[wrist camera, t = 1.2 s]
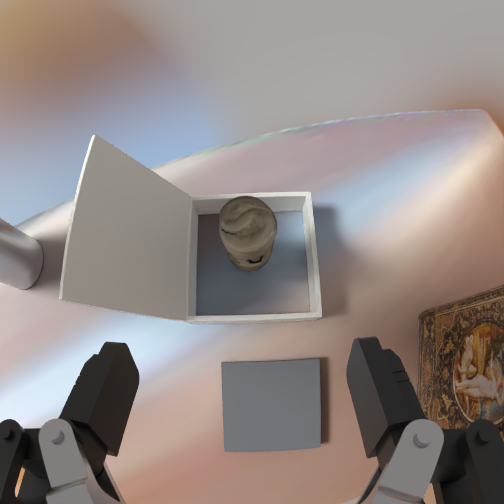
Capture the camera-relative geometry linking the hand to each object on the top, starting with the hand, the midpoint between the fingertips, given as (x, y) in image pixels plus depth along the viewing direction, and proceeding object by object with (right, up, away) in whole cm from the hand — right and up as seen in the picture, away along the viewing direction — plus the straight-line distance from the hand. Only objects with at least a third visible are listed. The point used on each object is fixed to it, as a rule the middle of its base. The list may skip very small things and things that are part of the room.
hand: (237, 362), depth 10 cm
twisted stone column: (0, +2, +31) cm, 31 cm away
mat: (+3, -16, +24) cm, 29 cm away
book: (+26, -12, +25) cm, 38 cm away
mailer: (-3, +2, +30) cm, 31 cm away
